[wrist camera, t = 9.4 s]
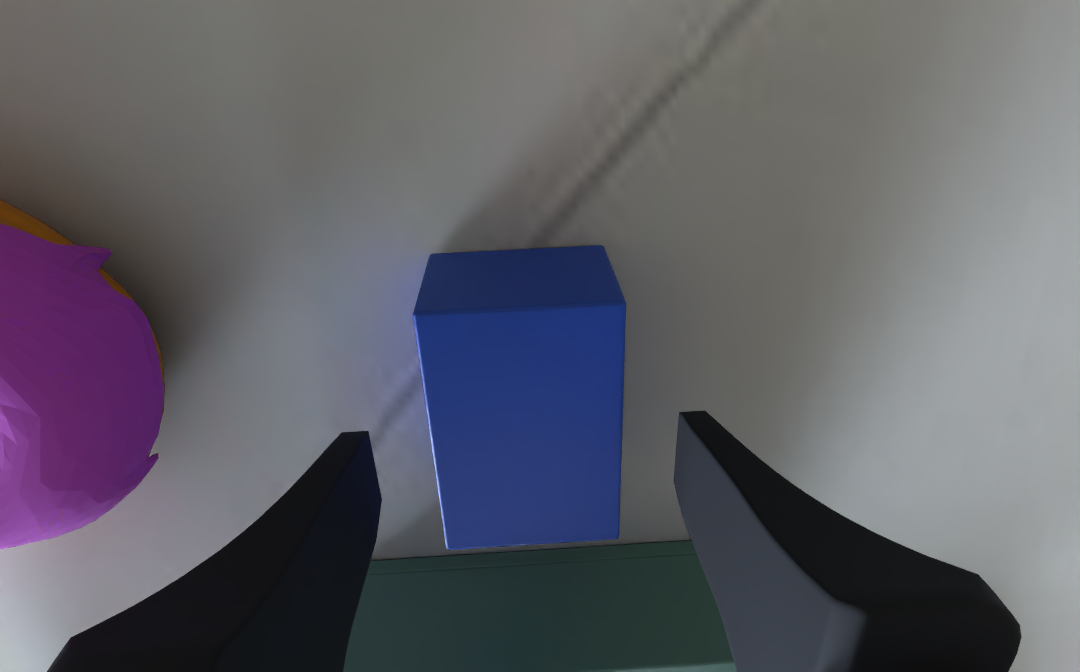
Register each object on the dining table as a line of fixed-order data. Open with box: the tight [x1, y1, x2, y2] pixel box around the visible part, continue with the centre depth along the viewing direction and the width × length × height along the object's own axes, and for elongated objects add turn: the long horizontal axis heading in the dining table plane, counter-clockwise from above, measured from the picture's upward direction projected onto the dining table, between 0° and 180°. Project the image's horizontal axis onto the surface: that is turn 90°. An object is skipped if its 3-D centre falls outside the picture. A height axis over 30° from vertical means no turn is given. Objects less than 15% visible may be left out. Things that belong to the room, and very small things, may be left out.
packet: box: [413, 245, 626, 550], centre depth 17 cm, size 5×7×4 cm, turn 2°
